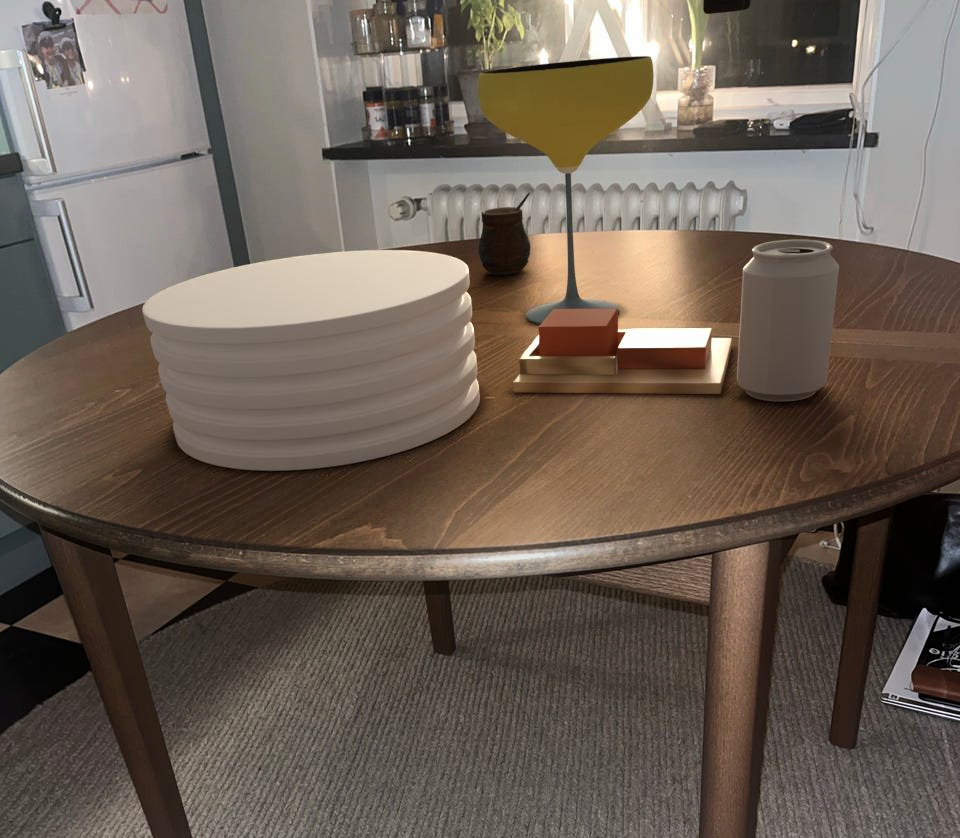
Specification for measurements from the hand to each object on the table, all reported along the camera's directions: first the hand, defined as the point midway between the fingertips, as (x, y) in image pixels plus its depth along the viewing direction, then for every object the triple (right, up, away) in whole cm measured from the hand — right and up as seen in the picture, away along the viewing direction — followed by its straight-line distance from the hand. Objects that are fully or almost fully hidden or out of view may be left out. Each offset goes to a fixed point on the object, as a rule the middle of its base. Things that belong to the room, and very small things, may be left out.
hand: (727, 11), depth 84 cm
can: (+5, -32, +1) cm, 33 cm away
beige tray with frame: (-7, -28, +10) cm, 31 cm away
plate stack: (-35, -33, +7) cm, 49 cm away
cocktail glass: (-11, -16, +29) cm, 35 cm away
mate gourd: (-18, -3, +52) cm, 55 cm away
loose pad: (-12, -27, +11) cm, 31 cm away
